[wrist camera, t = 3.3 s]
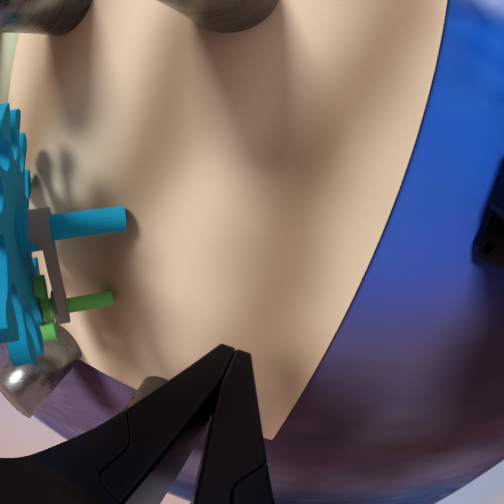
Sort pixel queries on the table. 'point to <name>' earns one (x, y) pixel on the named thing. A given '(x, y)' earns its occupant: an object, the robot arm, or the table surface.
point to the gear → (37, 239)
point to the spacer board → (222, 174)
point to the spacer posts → (57, 24)
